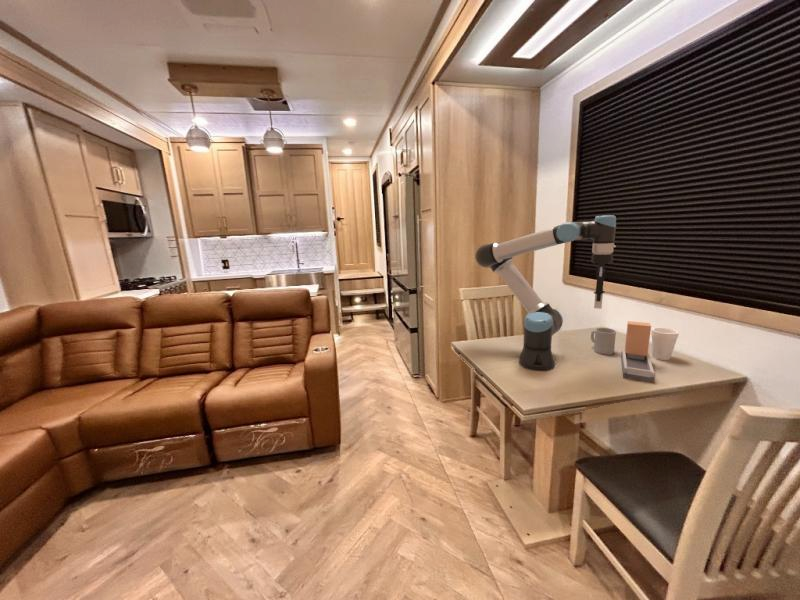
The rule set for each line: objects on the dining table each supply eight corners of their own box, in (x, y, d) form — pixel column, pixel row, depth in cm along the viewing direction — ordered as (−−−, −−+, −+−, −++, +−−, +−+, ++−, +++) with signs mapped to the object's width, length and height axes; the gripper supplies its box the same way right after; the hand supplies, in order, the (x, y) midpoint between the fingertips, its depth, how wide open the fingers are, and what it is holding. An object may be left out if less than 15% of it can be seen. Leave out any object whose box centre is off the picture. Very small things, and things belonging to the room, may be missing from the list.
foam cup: (669, 363, 141) (673, 335, 138) (645, 357, 148) (648, 330, 145) (677, 357, 146) (681, 330, 143) (653, 352, 153) (656, 326, 150)
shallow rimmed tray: (653, 382, 125) (655, 372, 124) (622, 377, 130) (624, 367, 129) (647, 359, 145) (648, 350, 144) (621, 356, 151) (621, 347, 150)
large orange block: (646, 360, 139) (651, 326, 136) (624, 357, 143) (628, 324, 140) (645, 355, 144) (649, 322, 141) (624, 353, 148) (627, 320, 145)
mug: (618, 353, 154) (620, 331, 152) (604, 355, 152) (606, 334, 150) (597, 345, 165) (598, 325, 163) (583, 347, 163) (585, 327, 161)
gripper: (613, 254, 125) (608, 312, 130) (613, 252, 136) (608, 305, 141) (591, 254, 129) (586, 310, 134) (592, 252, 140) (588, 304, 145)
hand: (597, 308), depth 138 cm, fingers closed
